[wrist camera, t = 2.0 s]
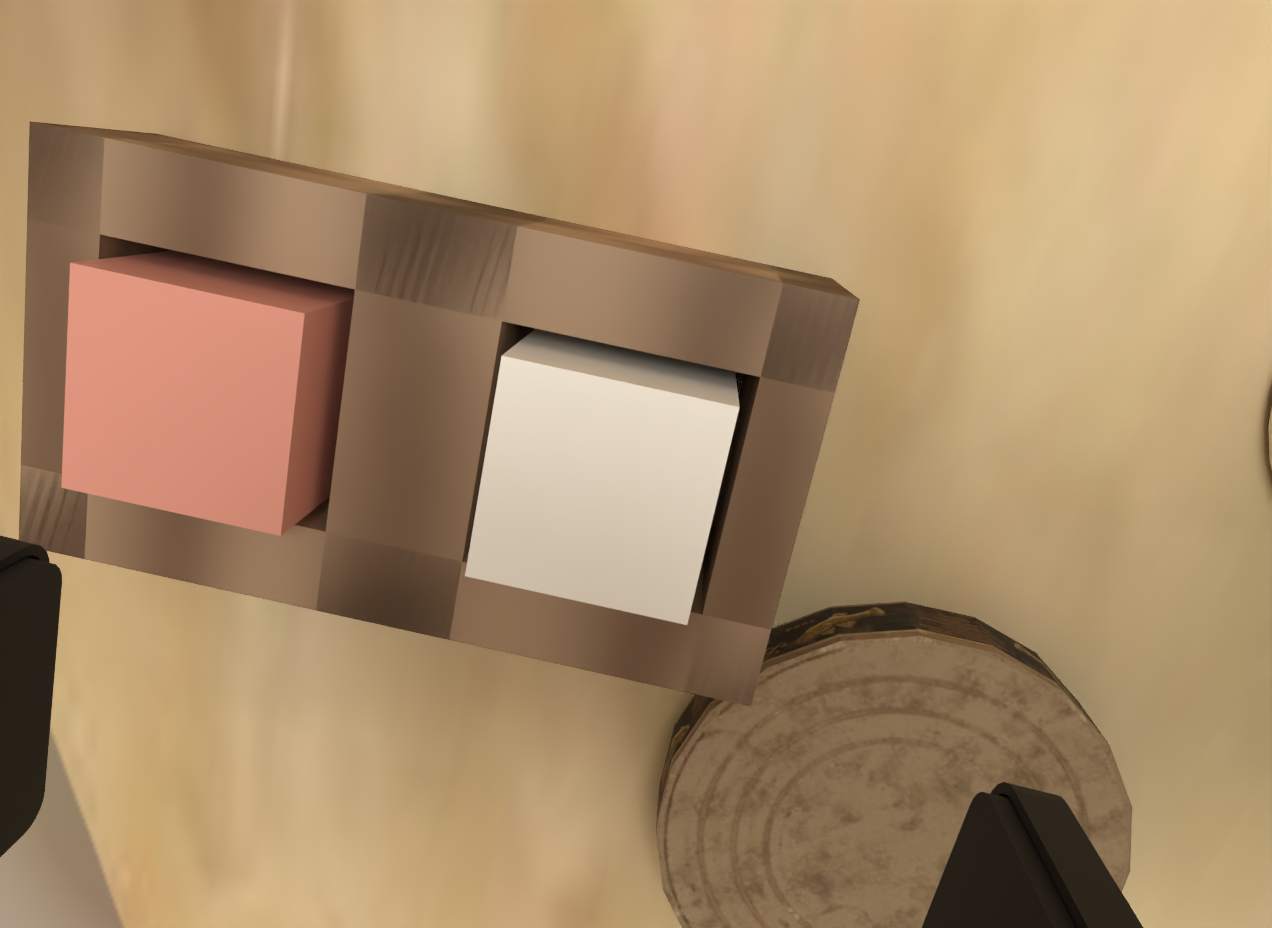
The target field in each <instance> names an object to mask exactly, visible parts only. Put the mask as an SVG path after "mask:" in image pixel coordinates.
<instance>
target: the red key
mask: <svg viewBox="0 0 1272 928" xmlns="http://www.w3.org/2000/svg"><path fill="white" fill-rule="evenodd" d="M354 294H355V289H351V288H346V287H341V286H337V285H332V284H327V283H323V282H318V281H313V280H309V279H304V278H300V277H295V276H290V275H286V274H281V273H276V272H272V271H267V270H263V269H258V268H253V267H249V266H244V265H239V264H235V263H230V262H226V261H221V260H216V259H212V258H207V257H202V256H198V255H193V254H188V253H184V252H179V251H175V250H174V251H166V252H157V253H149V254H140V255H131V256H123V257H114V258H106V259H97V260H88V261H80V262H71V263H70V277H69V303H68V329H67V355H66V381H65V407H64V433H63V459H62V485H61V488H65V489H70V490H74V491H79V492H83V493H88V494H92V495H97V496H101V497H106V498H110V499H115V500H120V501H124V502H129V503H133V504H138V505H142V506H147V507H151V508H156V509H160V510H165V511H169V512H174V513H179V514H183V515H188V516H192V517H197V518H201V519H206V520H210V521H215V522H219V523H224V524H229V525H233V526H238V527H242V528H247V529H251V530H256V531H260V532H265V533H269V534H274V535H278V536H281V535H283V534H284V533H285V532H286V531H288V530H289V529H290V528H291V527H293V526H294V525H295V524H296V523H297V522H299V521H300V520H301V519H302V518H304V517H305V516H306V515H307V514H309V513H310V512H311V511H312V510H314V509H315V508H316V507H317V506H319V505H320V504H321V503H322V502H324V501H325V500H326V499H327V498H328V497H330V492H331V483H332V475H333V467H334V459H335V450H336V442H337V434H338V426H339V417H340V409H341V401H342V393H343V384H344V376H345V368H346V360H347V351H348V343H349V335H350V327H351V318H352V310H353V302H354Z"/></svg>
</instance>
